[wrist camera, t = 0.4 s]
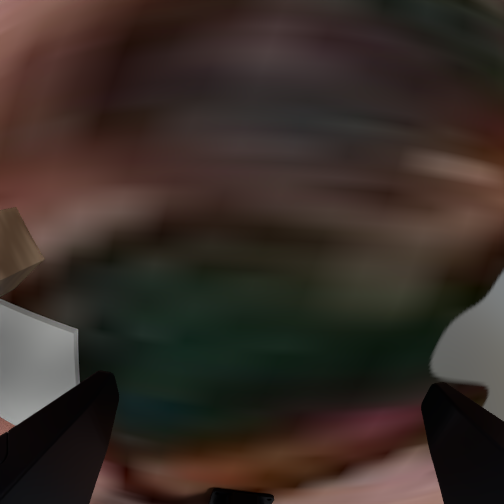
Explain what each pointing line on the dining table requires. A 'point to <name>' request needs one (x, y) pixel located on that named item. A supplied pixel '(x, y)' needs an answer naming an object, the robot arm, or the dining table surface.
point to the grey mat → (34, 361)
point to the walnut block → (15, 251)
